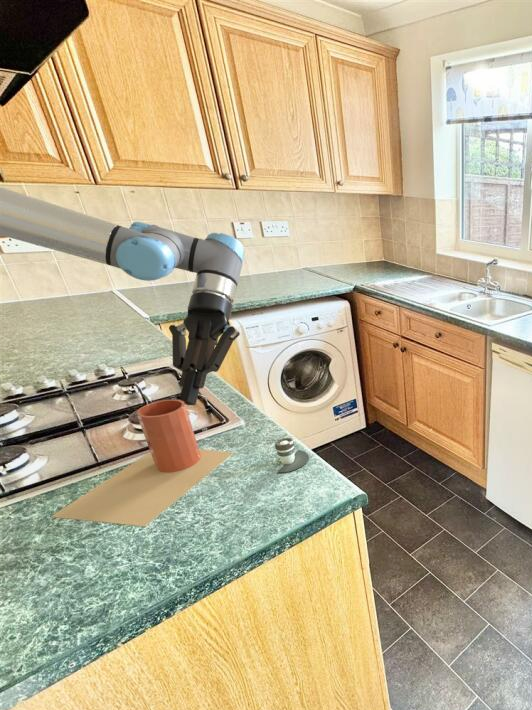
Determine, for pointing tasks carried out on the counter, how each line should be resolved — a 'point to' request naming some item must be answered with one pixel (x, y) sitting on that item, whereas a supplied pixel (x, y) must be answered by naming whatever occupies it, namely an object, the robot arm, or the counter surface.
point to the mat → (140, 491)
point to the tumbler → (169, 435)
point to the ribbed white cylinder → (290, 455)
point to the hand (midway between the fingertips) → (187, 403)
